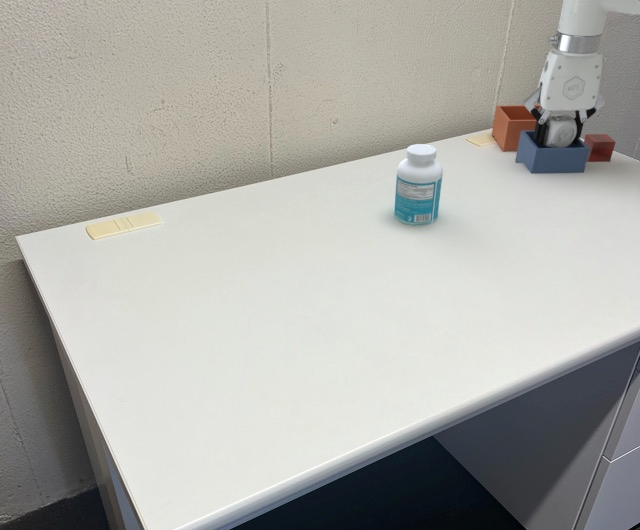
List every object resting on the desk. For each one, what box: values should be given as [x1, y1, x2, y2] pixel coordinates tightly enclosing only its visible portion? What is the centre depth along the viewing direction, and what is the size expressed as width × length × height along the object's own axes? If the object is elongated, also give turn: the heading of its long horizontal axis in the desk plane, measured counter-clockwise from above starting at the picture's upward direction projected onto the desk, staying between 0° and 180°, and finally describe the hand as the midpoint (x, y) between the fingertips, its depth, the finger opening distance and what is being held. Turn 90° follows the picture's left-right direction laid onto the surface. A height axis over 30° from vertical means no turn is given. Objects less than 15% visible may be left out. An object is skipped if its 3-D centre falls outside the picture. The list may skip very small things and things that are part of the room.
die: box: [543, 113, 577, 148], centre depth 118 cm, size 5×5×5 cm
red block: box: [583, 133, 616, 163], centre depth 127 cm, size 4×4×4 cm
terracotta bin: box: [491, 104, 552, 152], centre depth 134 cm, size 10×10×7 cm
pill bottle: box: [393, 143, 444, 227], centre depth 101 cm, size 8×7×14 cm
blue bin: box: [514, 130, 590, 174], centre depth 121 cm, size 10×10×7 cm
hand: (555, 140), depth 119 cm, fingers closed on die, 5 cm apart
